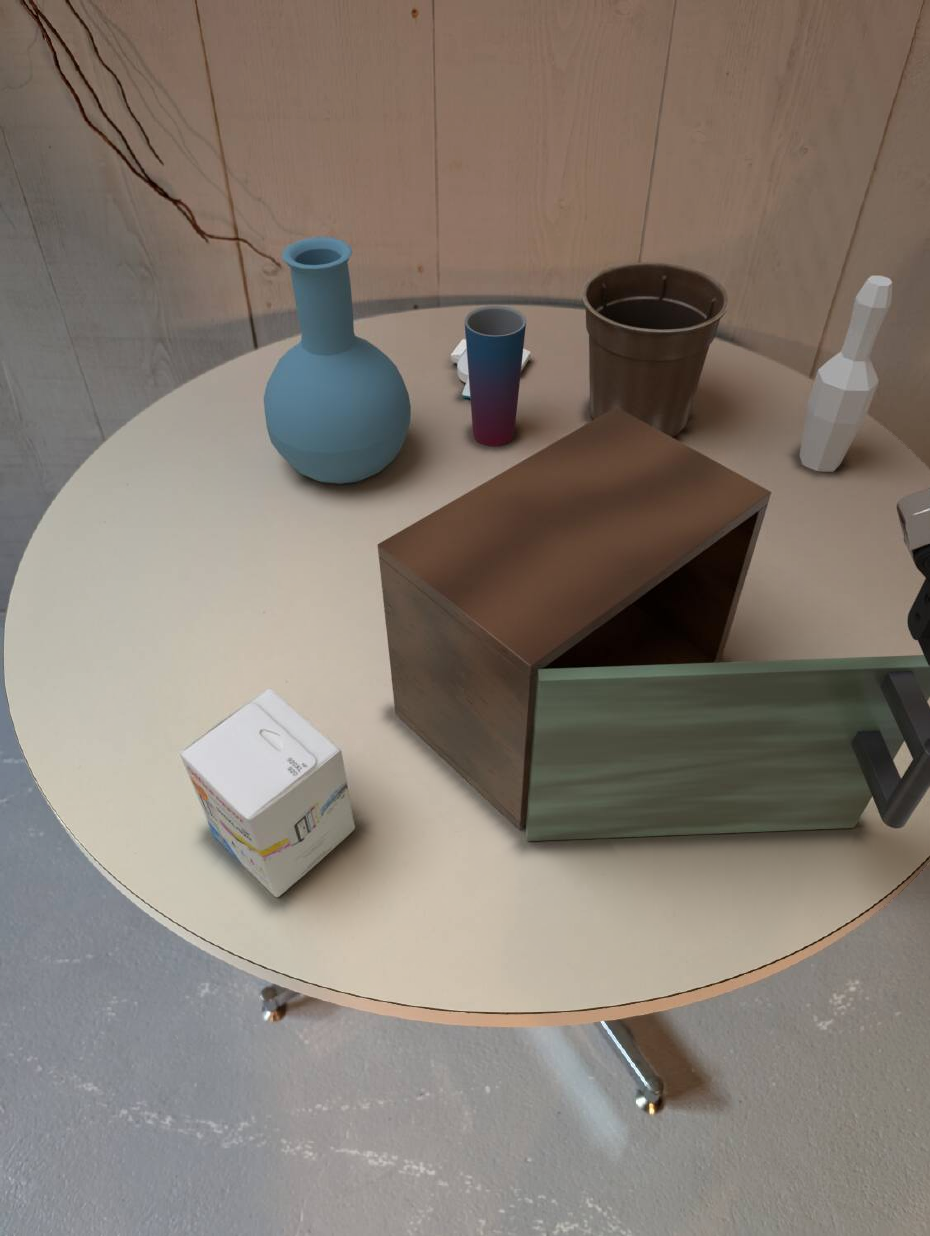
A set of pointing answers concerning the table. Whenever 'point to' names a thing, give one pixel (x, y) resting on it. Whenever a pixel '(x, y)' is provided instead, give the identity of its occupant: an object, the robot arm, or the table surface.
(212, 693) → the table surface
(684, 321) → the plant pot
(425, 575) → the cupboard
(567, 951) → the table surface
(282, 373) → the vase
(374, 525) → the table surface
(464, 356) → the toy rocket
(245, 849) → the ink box
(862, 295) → the low poly bottle
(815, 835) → the table surface
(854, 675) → the cupboard door
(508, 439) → the cup
